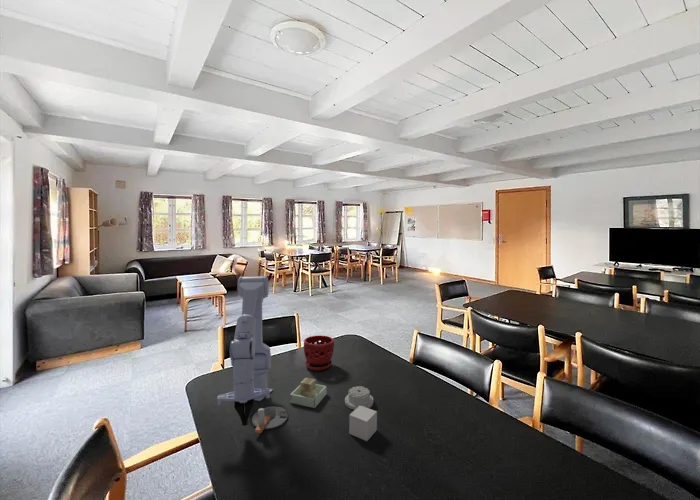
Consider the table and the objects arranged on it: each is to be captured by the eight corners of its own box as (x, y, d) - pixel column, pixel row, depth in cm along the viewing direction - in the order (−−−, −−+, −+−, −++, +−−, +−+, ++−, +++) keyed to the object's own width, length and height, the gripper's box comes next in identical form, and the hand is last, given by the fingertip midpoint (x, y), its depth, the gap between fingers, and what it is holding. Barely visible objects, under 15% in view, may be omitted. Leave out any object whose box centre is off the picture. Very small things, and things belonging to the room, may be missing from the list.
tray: (290, 402, 111) (289, 394, 111) (303, 389, 120) (303, 381, 120) (314, 408, 108) (314, 399, 107) (326, 393, 117) (326, 386, 116)
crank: (267, 411, 104) (266, 394, 103) (277, 412, 103) (277, 395, 103) (252, 433, 93) (251, 414, 93) (263, 434, 93) (263, 415, 92)
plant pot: (333, 372, 133) (332, 345, 132) (301, 372, 134) (301, 345, 133) (335, 359, 146) (334, 334, 145) (306, 359, 147) (306, 334, 146)
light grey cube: (349, 434, 94) (349, 414, 94) (359, 423, 99) (359, 405, 99) (366, 441, 91) (366, 421, 91) (376, 430, 96) (376, 411, 96)
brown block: (300, 399, 112) (300, 382, 112) (305, 393, 116) (305, 377, 116) (310, 401, 111) (310, 384, 110) (315, 395, 115) (315, 379, 114)
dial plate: (244, 425, 99) (244, 422, 99) (265, 406, 109) (265, 403, 109) (275, 432, 95) (275, 429, 95) (294, 412, 105) (293, 409, 105)
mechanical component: (342, 409, 107) (371, 412, 105) (342, 397, 107) (371, 400, 105) (348, 394, 117) (375, 396, 115) (347, 382, 117) (375, 385, 115)
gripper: (214, 389, 87) (216, 436, 88) (269, 382, 91) (270, 427, 92) (218, 377, 94) (220, 421, 95) (269, 371, 98) (270, 413, 99)
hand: (245, 423), depth 94 cm, fingers closed
